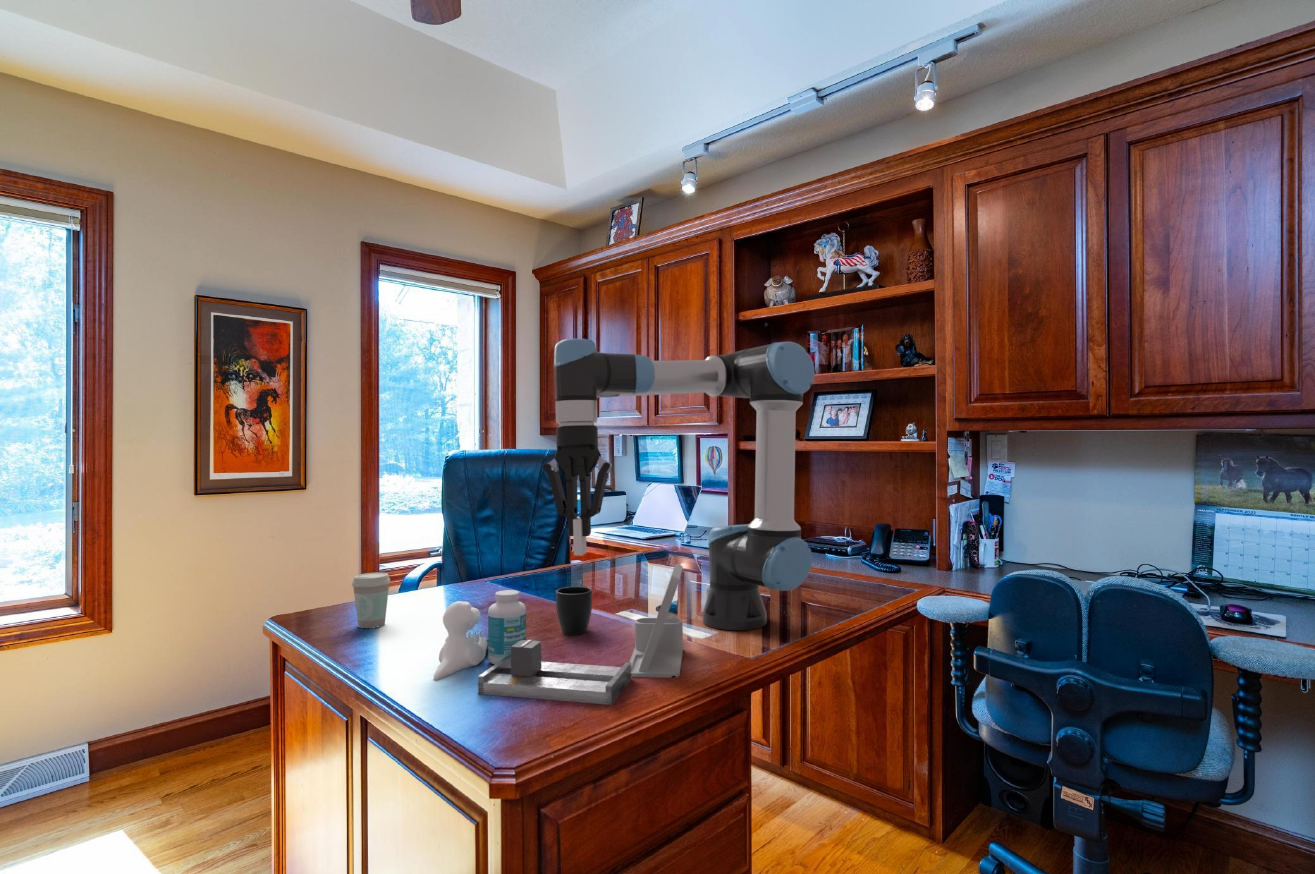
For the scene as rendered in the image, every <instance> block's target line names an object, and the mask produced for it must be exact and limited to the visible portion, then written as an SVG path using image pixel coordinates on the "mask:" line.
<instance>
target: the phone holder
mask: <svg viewBox="0 0 1315 874" xmlns="http://www.w3.org/2000/svg"><path fill="white" fill-rule="evenodd" d="M682 571H683V565H682V564H677V563H674V567H673V570H672V573H671V575H670V577H669V581H668V584H667V587H666V589H665V593H664V596H663V599H662V602H661V605H660V607H659V611H658V614H657V616H656V617H642V618H638V619H636V620H635V621H634V633H635V635H634V636H635V637H634V638H635V639H634V641H635V642H634V644H635V647H634V649H633V651H632V653H631V654H632V655H631V657H630V659H629V662H631V678H663V679H665V678H672V677H674V676H675V678H678V677H679V676H681V675H680V674H681V666H682V660H683V653H684V644H683V643H684V638H683V633H684V632H683V630H684V628H683V625H684V624H683V620H681V619H679V618H676V617H675V618H674V617H673V618H672V617H668V614H669V612H670V608H671V605H672V602H673V600H674V597H675V594H676V591H677V588H678V585H679V582H680V579H681V575H682Z"/></svg>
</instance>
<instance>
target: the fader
mask: <svg viewBox="0 0 1315 874" xmlns="http://www.w3.org/2000/svg"><path fill="white" fill-rule="evenodd" d="M541 662H542V641H541V640H532V639H528V640H527V639H526V640H520V641H518V642H517V643H516V644H514V645H513V646H511V675H516V676H530V677H532V676H536V675H537V672H538V671H539V670H541Z"/></svg>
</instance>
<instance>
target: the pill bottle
mask: <svg viewBox="0 0 1315 874" xmlns="http://www.w3.org/2000/svg"><path fill="white" fill-rule="evenodd" d="M494 599H495V601H496V602H494V603H492V604H491V605H490V606H489V608H488V611H487V640H488V656H487V660H488V662H489V663H491V664H493V665H495V664H496V663H498V662H499V661H501V660H502V659H504V658H505V657H506V656H508V655H509V654H511V646H513V645H514V644H516V643H517V642H518V641H520V640H527V606H526V604H525V603H523V602H521V601H519V599H520V591H518V590H515V589H507V590H506V589H505V590H499V591H496V592H495V593H494Z"/></svg>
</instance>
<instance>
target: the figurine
mask: <svg viewBox="0 0 1315 874" xmlns="http://www.w3.org/2000/svg"><path fill="white" fill-rule="evenodd" d="M480 619H481V612H480V610H479V609H478V608H476V607H473V606H472V604H471V602H469V601H463V600H462V601H461V600H460V601H459V600H458V601H455V602H452V603H451V604H449V606H447V608H446V610H445V612H444V613H443V616H442V623H443V625H444V628H445V630H446V631H447V634H448V635H447V637H446V639H445V641H444V642H445V643H444V644H443V645H442V647H441V648H440V650H439V651H440V652H439V655H438V661H439V665H438V666H437V668H436V670H435V672H434V674H433V680H435V681H436V680H441V679H442V678H445V677H447V676H451V675H453V674H455V673H457V672H459V671H462V670H464V669H468V668H473V667H475V666H477V665H479V664H480V663H481V662H483V660H484V659H485V658H488V638H486V637H485V634H484V633H483V630H482V629H481V630H480V632H479V630H477V631H475V632H474V631H473V632H472V633H471V630H473V629H474V628H475V626H476V625H477V624H479V621H480Z"/></svg>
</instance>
